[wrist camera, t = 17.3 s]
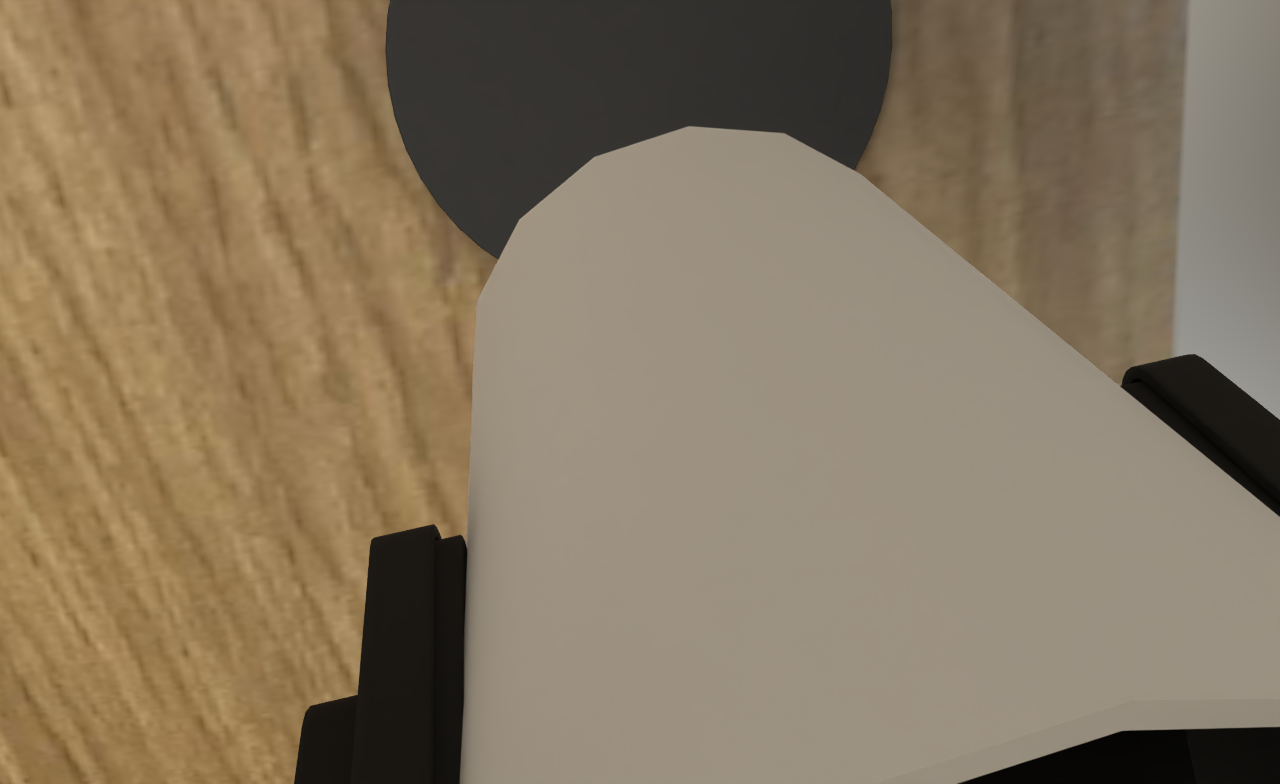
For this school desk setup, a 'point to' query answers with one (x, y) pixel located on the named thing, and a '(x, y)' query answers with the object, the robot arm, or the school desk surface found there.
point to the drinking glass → (830, 508)
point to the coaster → (617, 86)
